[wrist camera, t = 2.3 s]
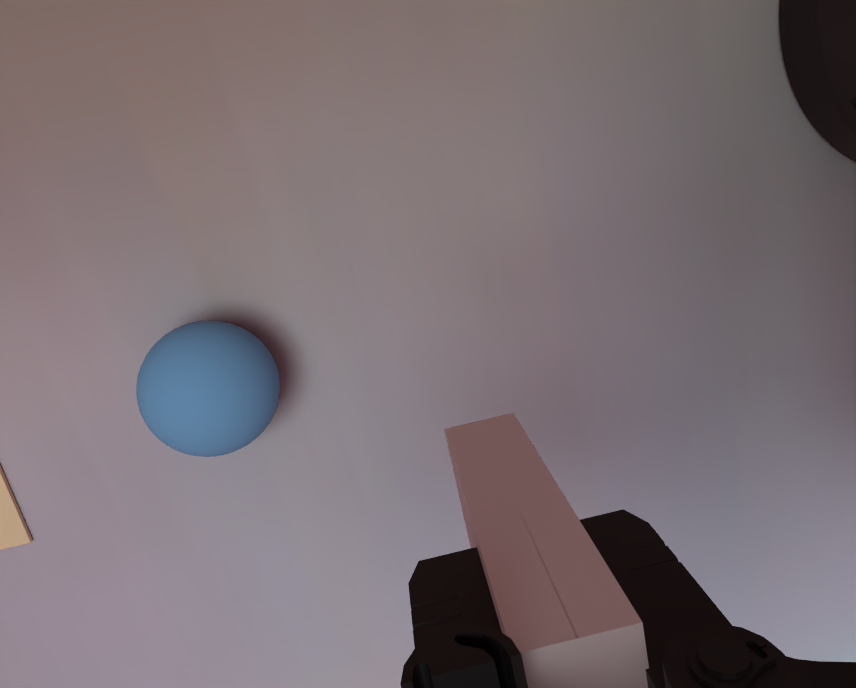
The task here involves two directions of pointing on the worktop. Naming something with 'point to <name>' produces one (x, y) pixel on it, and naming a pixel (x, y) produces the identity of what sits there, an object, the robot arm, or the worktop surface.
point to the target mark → (11, 518)
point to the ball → (208, 388)
